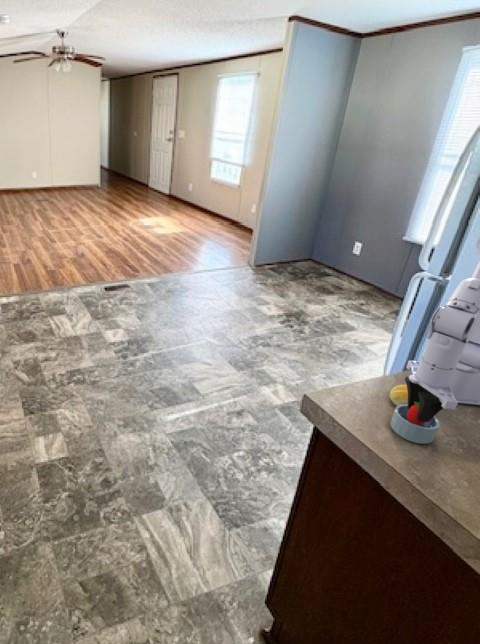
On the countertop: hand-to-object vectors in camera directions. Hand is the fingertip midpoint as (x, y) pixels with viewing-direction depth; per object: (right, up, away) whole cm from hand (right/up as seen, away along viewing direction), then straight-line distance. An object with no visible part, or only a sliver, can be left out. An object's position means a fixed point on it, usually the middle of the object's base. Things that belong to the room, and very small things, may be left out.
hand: (417, 414), depth 92 cm
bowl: (0, -5, +2) cm, 5 cm away
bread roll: (+7, -1, +11) cm, 13 cm away
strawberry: (0, -1, +1) cm, 1 cm away
